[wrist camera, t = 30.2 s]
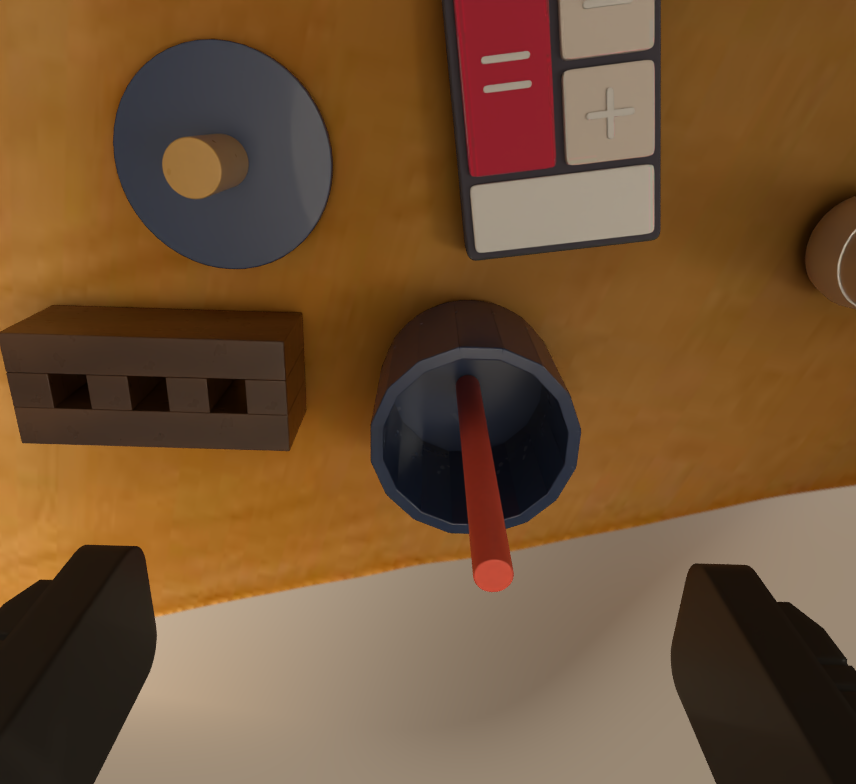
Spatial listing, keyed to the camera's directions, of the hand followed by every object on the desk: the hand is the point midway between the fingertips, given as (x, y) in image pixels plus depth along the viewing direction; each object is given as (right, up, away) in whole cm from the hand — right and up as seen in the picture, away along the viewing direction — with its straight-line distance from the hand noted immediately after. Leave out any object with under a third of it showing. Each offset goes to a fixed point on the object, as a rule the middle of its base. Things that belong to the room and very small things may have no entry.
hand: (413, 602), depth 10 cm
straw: (+3, +4, +35) cm, 35 cm away
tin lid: (-12, +17, +29) cm, 36 cm away
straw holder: (-16, +5, +35) cm, 39 cm away
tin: (+3, +4, +35) cm, 36 cm away
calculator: (+7, +19, +29) cm, 36 cm away
